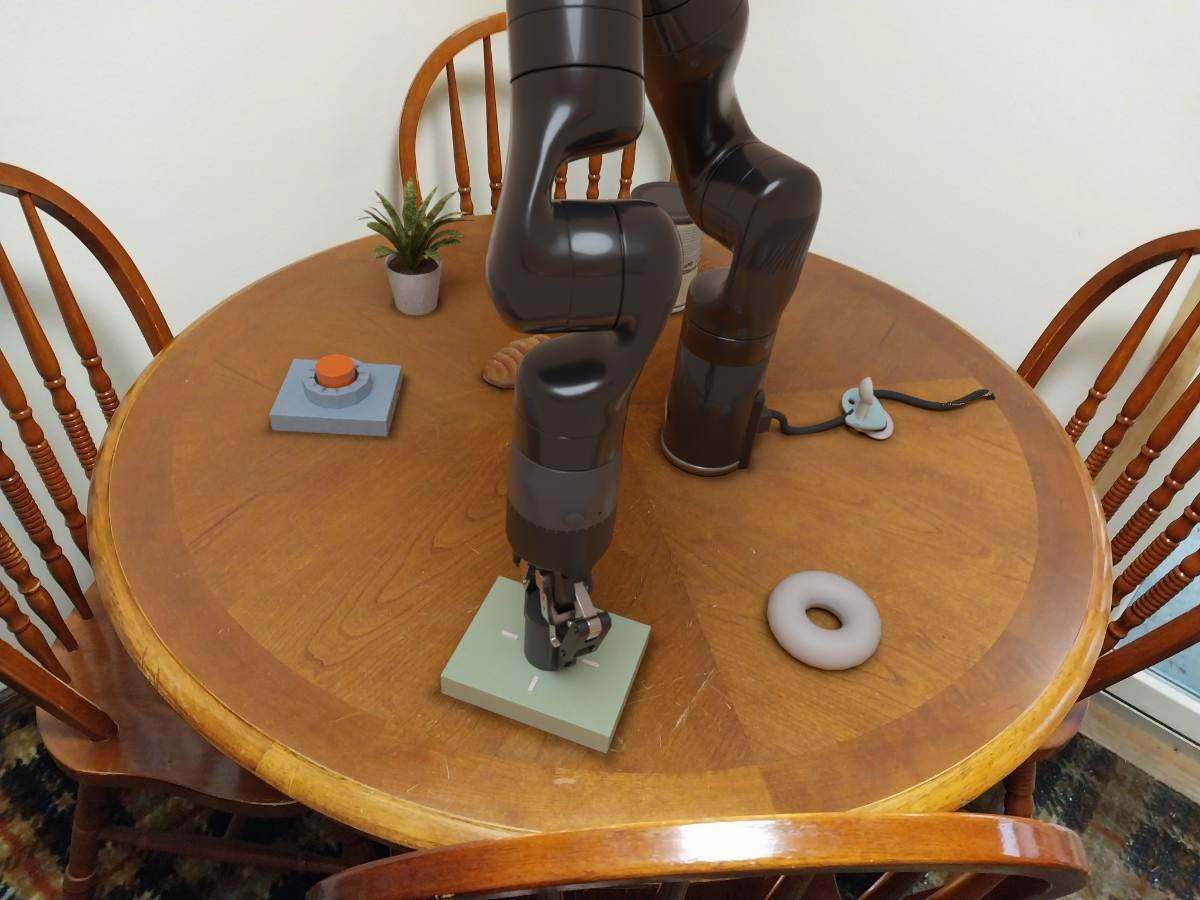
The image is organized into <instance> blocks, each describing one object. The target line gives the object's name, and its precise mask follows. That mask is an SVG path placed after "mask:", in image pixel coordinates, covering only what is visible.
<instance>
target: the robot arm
mask: <svg viewBox="0 0 1200 900" xmlns="http://www.w3.org/2000/svg"><path fill="white" fill-rule="evenodd" d="M749 3H750V2H749V0H505V15H506V16H505V18H506V19H505V20H506V37H507V41H506V42H507V60H508V79H509V81H508V82H509V107H510V109H509V110H510V111H509V131H508V145H507V154H506V160H505V166H504V172H503V179H502V184H501V188H500V193H499V198H498V202H497V206H496V210H495V213H494V218H493V221H492V225H491V226H492V227H491V231H490V234H489V240H488V243H487V250H486V255H485V262H484V285H485V290H486V296H487V298H488V302H489V303H490V306H491V308H492V309H493V310H494V312H495V314H496V316H497V317H498V318H499V320H500V321H501V322H502V323H503V324H504V325H505V326H506V327H508V328H509V329H510V330H512V331H514V332H516V333H518V334H524V335H537V334H542V335H556V334H557V335H558V334H563V335H559V336H555V337H551V339H549V340H546V341H544V342H541V343H539V344H537V345H535V346H534V347H532V348H531V349H529V350H528V351H527V352H526V353H525V354H524V356H523V357H522V358H521V360H520V361H519V364H518V366H517V370H516V376H515V386H514V387H513V389H514V390H513V392H514V393H513V419H512V434H511V435H512V437H511V441H510V445H509V451H508V456H507V473H506V474H507V477H506V482H507V483H506V500H505V501H506V503H505V504H506V506H505V507H506V508H505V535H506V539H507V541H508V543H509V544H508V545H510V547H511V551H512V562H513V564H514V565H515V567H516V568H517V569H518V568H519V569H520V572H521V574H520V583H521V584H522V585H523V587H524V589H525V602H524V616H525V612H526V603H527V600H528V598H529V597H530V595H531V594H532V593H533V592H535V591H536V590H538V589H540V598H541V611H542V615H543V616H544V618H545V619H546V621H547V622H548V623H549V633H550V637H549V647H548V657H547V663H548V665H549V667H550V669H551V670H552V671H555V670H558V671H560V670H563V669H566V668H569V667H572V666H575V665H576V661H577V657H580V656H583V655H586V654H589V653H592V652H595V651H596V650H597V649H598V647H599V646H600V644H601V643H602V641H603V639H604V638H605V636H606V635H607V633H608V632H609V630H610V628H611V626H612V622H611V617H610V616H609V614H608V612H609V611H607V610H604V611H603V612H600V611H597V612H596V611H595V609H594V604H593V602H592V599H591V595H592V593H593V591H594V579H593V569H594V567H596V565H597V563H598V562H599V561H600V560H601V559H602V558H603V556H605V554H606V553H607V551H608V550H609V549H610V546H611V544H612V541H613V537H614V530H615V524H616V517H617V511H618V504H619V498H620V490H621V485H622V478H623V471H624V437H625V432H626V426H627V419H628V418H627V417H628V411H629V407H630V401H631V396H632V393H633V391H634V389H635V387H636V385H637V382H638V380H639V378H640V377H641V375H642V372H643V370H644V368H645V365H646V363H647V361H648V360H649V357H650V356H651V354H652V352H653V350H654V348H655V347H656V344H657V343H658V341H659V339H660V337H661V336H662V333H663V332H664V330H665V328H666V327H667V324H668V322H669V320H670V317H671V316H672V314H673V313H672V311H673V309H674V306H675V304H676V301H677V298H678V294H679V291H680V287H681V282H682V276H683V267H684V254H683V247H682V241H681V237H680V234H679V232H678V230H677V227H676V225H675V223H674V222H673V220H672V218H671V217H670V215H669V214H668V213H667V212H666V211H665V210H664V209H663V208H661V207H660V206H659V205H657V204H655V203H653V202H650V201H646V200H640V199H630V198H608V199H606V198H603V199H602V198H601V199H598V198H595V199H594V198H593V199H591V198H589V199H588V198H587V199H585V198H582V199H581V198H580V199H579V198H578V199H577V198H574V199H573V198H571V199H570V198H569V199H568V198H564V199H563V198H559V199H556V198H553V187H554V182H555V179H556V177H557V175H558V173H559V171H560V170H561V168H564V166H567V165H568V164H570V163H573V162H575V161H579V160H583V159H584V160H585V159H587V158H592V157H597V156H601V155H607V154H610V153H614V152H618V151H620V150H624V149H626V148H628V147H630V146H631V145H633V144H634V143H635V142H636V141H637V140H638V139H640V136H641V135H642V133H643V130H644V125H645V114H646V99H647V101H648V103H649V105H650V107H651V109H652V111H653V112H652V113H653V114H654V116H655V119H656V120H657V122H658V124H659V127H660V129H661V132H662V134H663V137H664V140H665V143H666V146H667V149H668V153H669V156H670V160H671V164H672V167H673V171H674V173H675V178H676V181H677V182H676V183H678V185H679V189H680V192H681V196H682V199H683V202H684V205H685V207H686V210H687V212H688V214H689V216H690V218H691V220H692V221H693V223H694V224H695V225H696V226H697V227H698V228H699V229H700V230H701V231H702V232H703V233H704V236H707V237H708V238H710V239H711V240H713V241H714V242H716V243H717V244H719V245H721V246H722V247H723V248H725V249H726V250H728V251H729V252H731V253H732V259H731V263H730V265H729V266H717V267H712V268H709V269H706V270H703V271H701V272H700V273H697V275H696V276H695V277H694V278H693V279H692V281H691V283H690V285H689V287H688V291H687V296H686V302H685V308H684V310H683V314H682V319H681V325H680V331H679V337H678V343H677V348H676V353H675V359H674V365H673V371H672V376H671V382H670V388H669V393H668V395H666V396H665V402H664V414H665V415H664V422H663V425H662V429H661V434H660V439H659V441H660V442H659V444H660V450H661V451H662V453H663V455H664V457H665V458H666V459H667V460H668V461H669V462H670V463H671V464H673V465H674V466H675V467H677V468H678V469H680V470H682V471H685V472H688V473H691V474H694V475H698V476H706V477H714V476H715V477H717V476H722V475H726V474H727V475H728V474H729V473H732V472H734V471H736V470H737V469H747V468H748V467H749V464H750V463H749V462H750V459H751V456H752V452H753V451H752V450H753V449H754V446H755V445H754V444H755V440H756V437H757V434H762V433H769V431H770V427H771V425H772V421H773V419H774V420H777V421H778V422H779V428H780V430H781V431H782V432H783V433H785V434H787V435H792V436H802V435H811V434H816V433H821V432H824V431H826V430H830V429H832V428H835V427H837V426H840V425H842V424H844V423H846V422H845V419H846V417H847V416H848V415H851V414H852V413H853V412H854V410H853V409H851V410H850V411H849V412H848V413H847V412H846V413H845V412H844V413H843V414H841V415H840V416H837V417H835V418H833V419H830V420H826V421H824V422H820V423H817V424H813V425H809V426H803V427H800V426H799V427H798V426H797V427H796V426H791V425H789V423H788V422H789V421H788V418H787V416H786V415H785V414H784V413H782V412H780V411H779V410H776V409H771V408H768V407H767V405H766V400H767V399H766V397H767V396H766V393H765V388H764V383H765V378H766V374H767V371H768V367H769V365H770V360H771V356H772V351H773V347H774V344H775V342H776V341H775V340H776V337H777V333H778V329H779V326H780V322H781V318H782V315H783V313H784V311H785V309H786V308H787V306H788V304H789V303H790V301H791V299H792V297H793V296H794V293H795V291H796V289H797V287H798V283H799V280H800V276H801V274H802V271H803V268H804V264H805V261H806V259H807V255H808V253H809V250H810V247H811V244H812V241H813V238H814V235H815V233H816V229H817V226H818V223H819V220H820V219H819V218H820V214H821V210H822V203H823V188H822V187H823V186H822V182H821V179H820V177H819V176H818V174H817V172H816V171H814V170H813V169H812V168H811V167H810V166H808V165H806V164H805V163H802V162H800V161H799V160H797V159H795V158H793V157H791V156H789V155H788V154H785V153H784V152H782V151H780V150H779V149H776V148H775V147H773V146H770V145H769V144H767V143H765V142H763V141H762V140H761V139H760V138H759V137H757V136H756V134H755V133H754V132H753V131H752V129H751V127H750V125H749V123H748V122H747V119H746V117H745V114H744V112H743V109H742V106H741V102H740V100H739V97H738V94H737V91H736V85H735V74H736V72H737V69H738V67H739V64H740V61H741V58H742V55H743V51H744V48H745V44H746V41H747V36H748V32H749V31H748V30H749V24H750V4H749ZM989 391H990V390H989V389H986V388H982V389H978V390H974V391H972V392H971V393H968V394H966V395H964V396H962V397H960V398H957V399H955V400H954V399H953V400H951V401H952V402H951V401H946V402H947V403H940V402H941V401H931V400H926V399H922V398H919V397H916V396H912V395H909V394H906V393H902V392H899V391H894V390H890V389H889V390H888V389H873V395H874V396H875V397H876V398H886V399H893V400H897V401H901V402H903V403H906V404H910V405H912V406H916V407H918V408H919V407H920V408H924V409H928V410H934V411H947V410H954V409H956V408H959V407H962V406H964V405H966V404H967V403H966V402H968V401H970V402H973V401H974V400H976V398H977V399H979V398H982V397H981V396H983V395H985V394H987V393H988V392H989ZM978 397H979V398H978ZM983 397H984V398H986V399H987V400H989V401H995V400H996V395H995V394H994V393H993V392H992V394H991V395H988V396H983ZM950 403H951V405H950ZM960 403H965V404H961V405H952V404H960ZM968 403H969V402H968ZM851 404H852V405H854V404H855V403H854V401H852V403H851ZM943 404H944V405H943ZM948 404H949V405H948ZM553 603H554V604H557V605H554V606H553ZM570 619H572V620H570ZM567 620H569V621H568V626H566V627H563V628H561V623H562V622H564V621H567Z"/></svg>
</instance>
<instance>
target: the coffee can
mask: <svg viewBox="0 0 1200 900" xmlns="http://www.w3.org/2000/svg"><path fill="white" fill-rule="evenodd" d="M629 199H640V200H646V201H650V202H653V203H655V204H657V205H659V206H660V207H661V208H663V209H664V210H665V211H666V212H667V213H668V214H669V215H670V217H671V218H672V220H673V222H674V223H675V225H676V227H677V230H678V232H679V234H680V237H681V241H682V247H683V254H684V267H683V276H682V282H681V287H680V291H679V294H678V298H677V301H676V304H675V306H674V309H673V311H672V313H671V314H675V313H679V312H681V311H684V308H685V302H686V296H687V291H688V287H689V285H690V283H691V281H692V279H693V278H694V277H695V276H696V275H698V270H699V265H700V259H701V254H702V249H703V243H704V237H705V234H704V233H703V232H702V231H701V230H700V229H699V228H698V227H697V226H696V225H695V224H694V223H693V221H692V220H691V218H690V216H689V214H688V212H687V210H686V207H685V205H684V202H683V199H682V196H681V192H680V189H679V185H678V182H675V181H665V180H664V181H661V180H660V181H658V180H657V181H650V182H644V183H641V184H638V185H637V186H635V187H634V188H633V189H632V190H631V191H630V195H629Z"/></svg>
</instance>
